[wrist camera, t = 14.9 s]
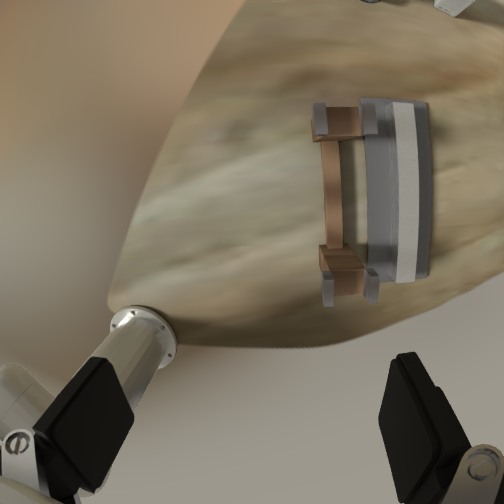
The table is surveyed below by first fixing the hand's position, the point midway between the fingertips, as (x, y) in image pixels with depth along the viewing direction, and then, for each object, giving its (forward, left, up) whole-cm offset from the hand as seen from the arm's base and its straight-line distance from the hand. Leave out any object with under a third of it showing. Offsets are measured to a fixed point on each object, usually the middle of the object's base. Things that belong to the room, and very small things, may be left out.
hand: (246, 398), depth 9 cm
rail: (+17, -7, -33) cm, 37 cm away
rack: (+8, -2, -33) cm, 34 cm away
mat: (+17, -7, -33) cm, 38 cm away
